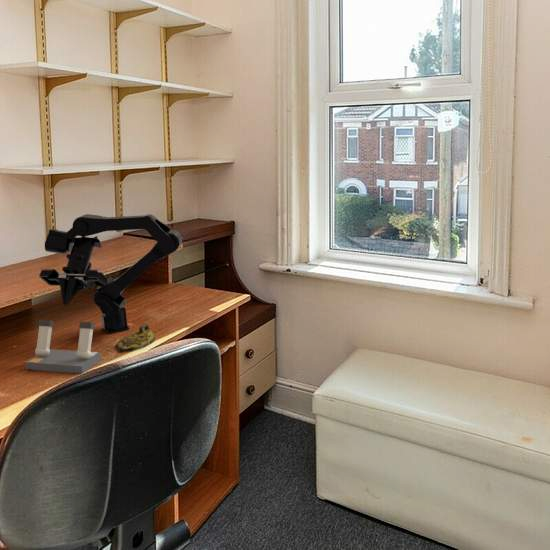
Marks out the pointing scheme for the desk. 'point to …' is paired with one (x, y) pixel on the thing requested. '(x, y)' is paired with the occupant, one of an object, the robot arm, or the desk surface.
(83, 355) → the right lever
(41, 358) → the switch base
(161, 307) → the desk surface
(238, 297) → the desk surface
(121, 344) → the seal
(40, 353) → the left lever
